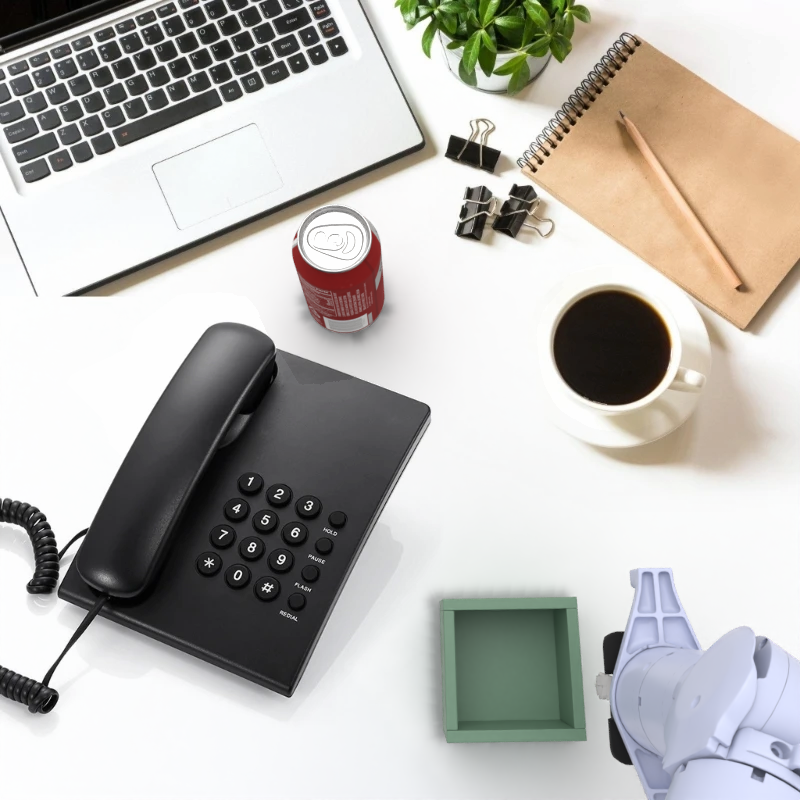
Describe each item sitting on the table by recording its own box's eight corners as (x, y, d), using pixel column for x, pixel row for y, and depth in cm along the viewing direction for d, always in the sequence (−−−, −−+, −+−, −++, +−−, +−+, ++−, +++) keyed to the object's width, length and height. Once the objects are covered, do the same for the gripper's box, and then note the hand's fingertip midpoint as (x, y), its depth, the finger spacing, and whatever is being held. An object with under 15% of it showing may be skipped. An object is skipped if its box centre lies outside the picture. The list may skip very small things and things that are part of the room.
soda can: (378, 342, 69) (371, 286, 58) (301, 330, 70) (280, 272, 58) (390, 270, 71) (387, 202, 60) (315, 260, 72) (297, 190, 60)
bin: (569, 729, 61) (587, 741, 55) (442, 731, 61) (446, 743, 55) (560, 599, 64) (576, 596, 57) (439, 600, 64) (442, 598, 58)
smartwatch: (589, 700, 55) (604, 704, 51) (589, 666, 55) (604, 668, 51) (642, 703, 55) (661, 708, 51) (641, 670, 55) (660, 672, 51)
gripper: (794, 869, 38) (695, 806, 52) (755, 561, 42) (673, 576, 55) (647, 870, 39) (585, 807, 52) (622, 562, 42) (571, 577, 56)
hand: (623, 687), depth 54 cm, fingers closed on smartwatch, 2 cm apart
